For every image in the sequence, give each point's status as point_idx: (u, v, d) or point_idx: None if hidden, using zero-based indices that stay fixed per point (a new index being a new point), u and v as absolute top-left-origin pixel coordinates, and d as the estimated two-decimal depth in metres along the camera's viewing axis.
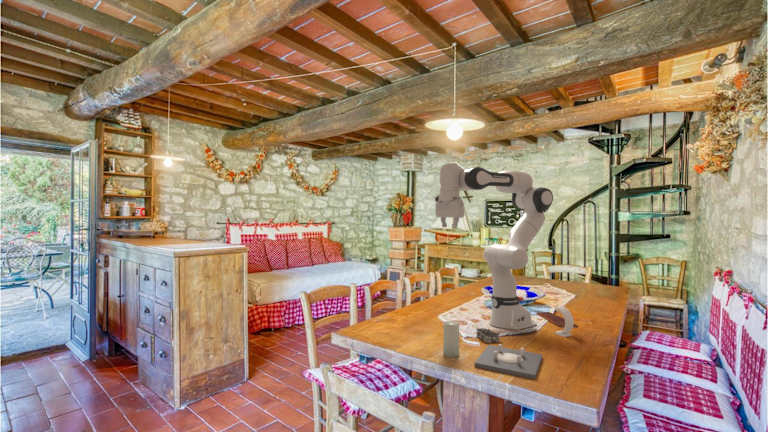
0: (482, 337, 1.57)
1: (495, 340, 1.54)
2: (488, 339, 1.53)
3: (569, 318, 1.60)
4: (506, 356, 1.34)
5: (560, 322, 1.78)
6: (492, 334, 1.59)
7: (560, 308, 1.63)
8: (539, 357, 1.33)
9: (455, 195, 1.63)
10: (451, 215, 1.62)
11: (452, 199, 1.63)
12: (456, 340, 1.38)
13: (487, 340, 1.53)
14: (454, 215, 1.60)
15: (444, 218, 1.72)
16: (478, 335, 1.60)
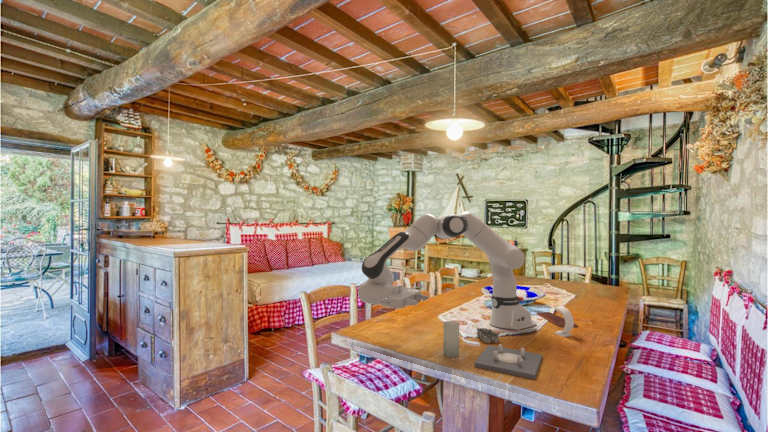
0: (482, 337, 1.57)
1: (494, 340, 1.53)
2: (487, 339, 1.53)
3: (569, 318, 1.60)
4: (506, 356, 1.34)
5: (560, 322, 1.78)
6: (492, 334, 1.59)
7: (560, 308, 1.63)
8: (539, 357, 1.33)
9: (385, 296, 1.50)
10: None
11: None
12: (456, 340, 1.38)
13: (486, 340, 1.53)
14: None
15: (418, 296, 1.53)
16: (478, 335, 1.60)
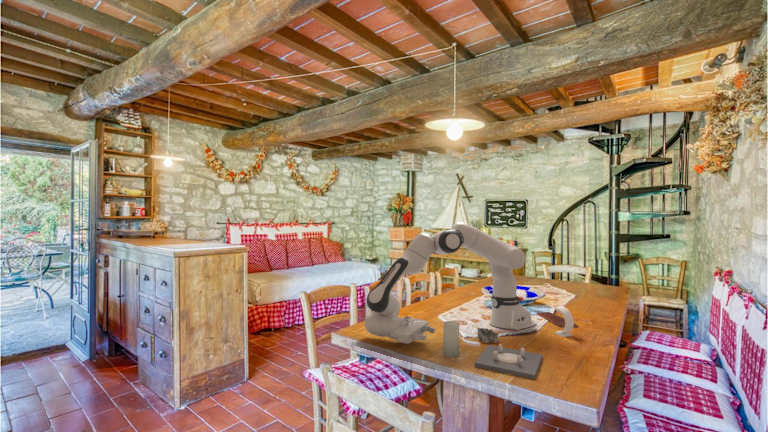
0: (481, 337, 1.57)
1: (493, 340, 1.53)
2: (485, 339, 1.53)
3: (569, 318, 1.60)
4: (506, 356, 1.34)
5: (560, 322, 1.78)
6: (493, 334, 1.59)
7: (560, 308, 1.63)
8: (539, 357, 1.33)
9: (393, 330, 1.48)
10: None
11: None
12: (456, 340, 1.38)
13: (485, 340, 1.53)
14: None
15: (425, 328, 1.51)
16: (479, 335, 1.61)
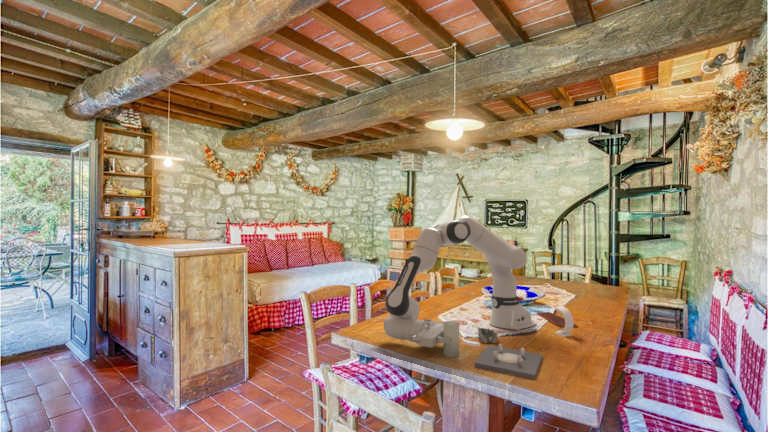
0: (481, 336, 1.57)
1: (492, 341, 1.53)
2: (484, 339, 1.53)
3: (569, 318, 1.60)
4: (506, 356, 1.34)
5: (560, 322, 1.78)
6: (493, 335, 1.58)
7: (560, 308, 1.63)
8: (539, 357, 1.33)
9: (414, 333, 1.43)
10: None
11: None
12: (456, 340, 1.38)
13: (483, 340, 1.54)
14: None
15: None
16: (479, 334, 1.61)
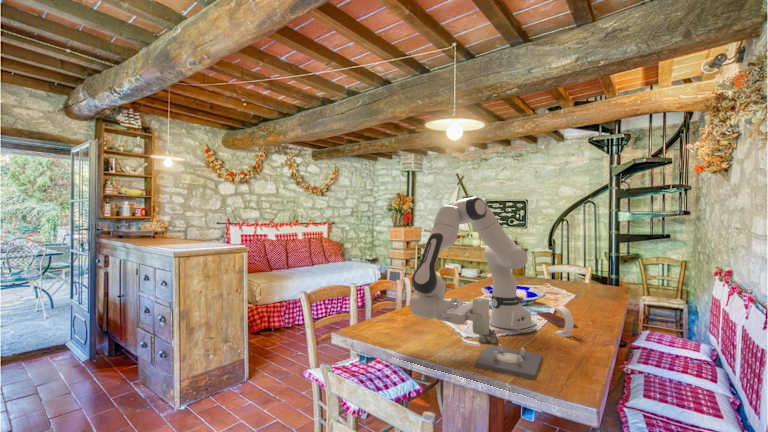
0: None
1: (490, 341, 1.53)
2: (482, 339, 1.54)
3: (569, 318, 1.60)
4: (506, 356, 1.34)
5: (560, 322, 1.78)
6: None
7: (560, 308, 1.63)
8: (539, 357, 1.33)
9: (442, 311, 1.40)
10: None
11: None
12: (486, 316, 1.34)
13: (482, 339, 1.54)
14: None
15: None
16: None
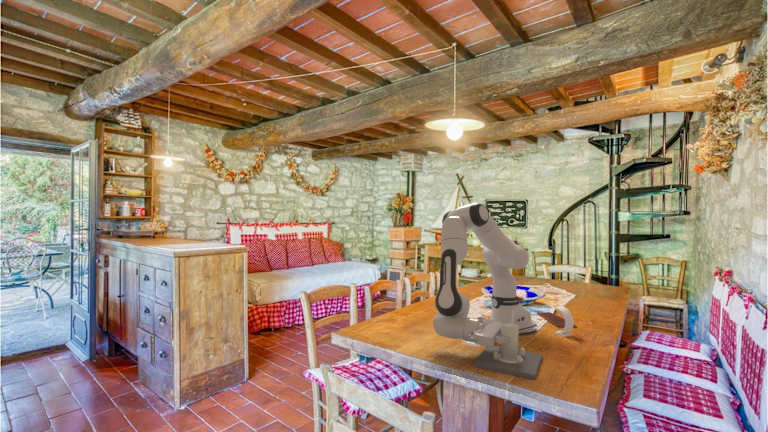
0: None
1: None
2: None
3: (569, 318, 1.60)
4: None
5: (559, 322, 1.78)
6: None
7: (560, 308, 1.63)
8: (539, 357, 1.33)
9: (469, 331, 1.36)
10: None
11: None
12: (516, 342, 1.30)
13: None
14: None
15: None
16: None
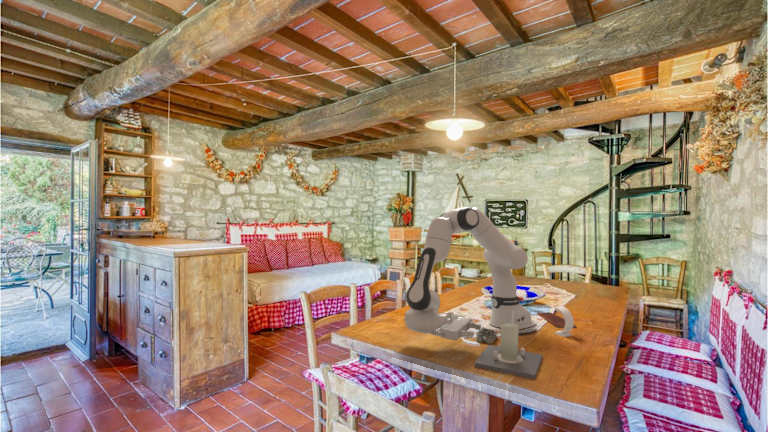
0: None
1: (486, 341, 1.53)
2: (479, 338, 1.54)
3: (569, 318, 1.60)
4: None
5: (558, 322, 1.77)
6: None
7: (560, 308, 1.63)
8: (539, 357, 1.33)
9: (437, 326, 1.42)
10: None
11: None
12: (515, 342, 1.30)
13: (478, 339, 1.55)
14: None
15: (470, 324, 1.45)
16: None
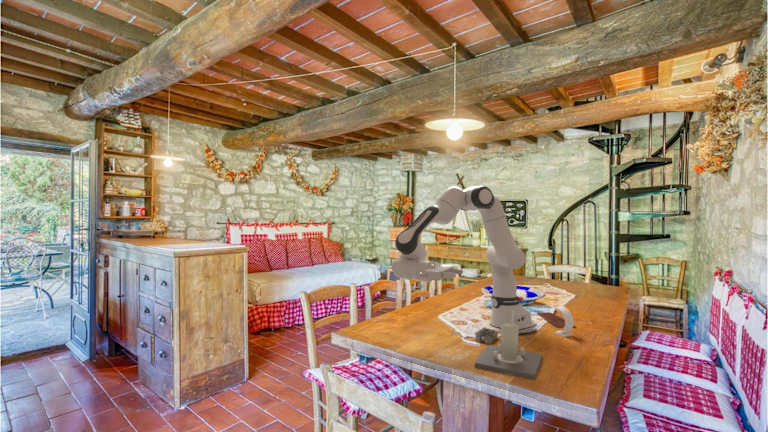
0: (479, 335, 1.59)
1: (485, 340, 1.53)
2: (477, 337, 1.55)
3: (569, 318, 1.60)
4: None
5: (558, 322, 1.77)
6: None
7: (560, 308, 1.63)
8: (539, 357, 1.33)
9: (421, 271, 1.51)
10: None
11: None
12: (516, 342, 1.30)
13: (477, 338, 1.55)
14: (439, 279, 1.44)
15: (453, 270, 1.54)
16: None
